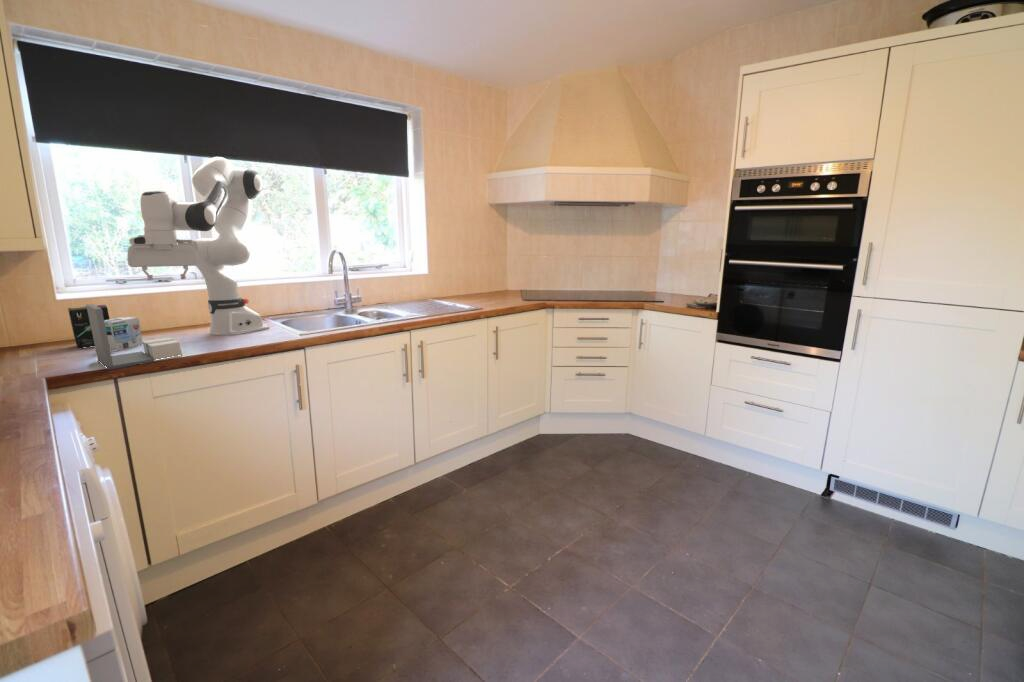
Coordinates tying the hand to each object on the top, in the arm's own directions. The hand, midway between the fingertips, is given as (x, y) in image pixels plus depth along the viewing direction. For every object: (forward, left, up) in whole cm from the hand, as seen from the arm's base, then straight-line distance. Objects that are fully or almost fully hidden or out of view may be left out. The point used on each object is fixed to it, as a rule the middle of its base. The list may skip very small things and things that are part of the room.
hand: (167, 279), depth 168 cm
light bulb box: (+12, -21, -26) cm, 35 cm away
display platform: (+16, +5, -25) cm, 31 cm away
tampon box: (+18, -35, -26) cm, 47 cm away
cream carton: (+6, +5, -26) cm, 27 cm away
